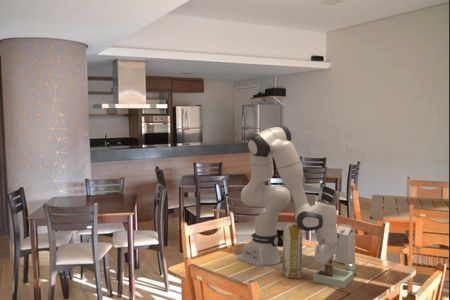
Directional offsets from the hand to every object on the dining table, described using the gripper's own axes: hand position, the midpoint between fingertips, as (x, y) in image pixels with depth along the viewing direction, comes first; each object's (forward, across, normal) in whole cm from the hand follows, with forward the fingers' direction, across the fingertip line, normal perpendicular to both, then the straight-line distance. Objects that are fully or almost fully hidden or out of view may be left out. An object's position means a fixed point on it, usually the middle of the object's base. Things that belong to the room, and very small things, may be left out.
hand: (326, 267), depth 179 cm
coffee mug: (+5, +34, +39) cm, 52 cm away
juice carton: (+5, -5, +15) cm, 17 cm away
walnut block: (+4, -1, 0) cm, 4 cm away
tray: (+5, -1, -3) cm, 6 cm away
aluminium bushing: (+5, +10, -8) cm, 14 cm away
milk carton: (+5, +26, 0) cm, 26 cm away
